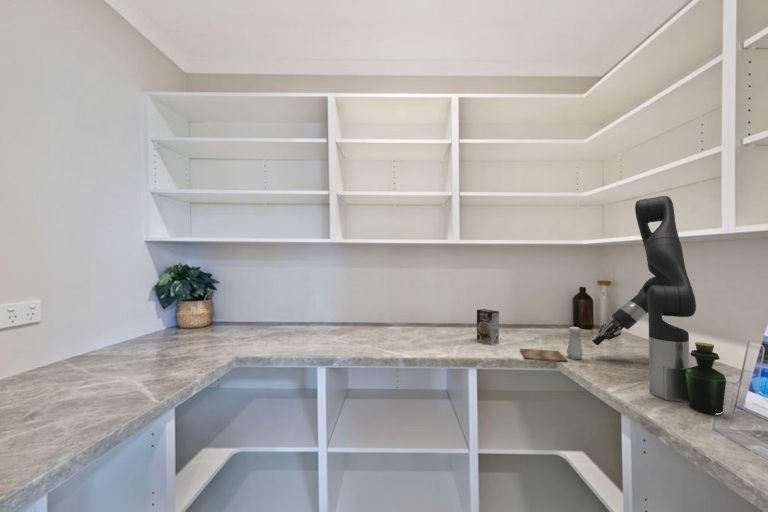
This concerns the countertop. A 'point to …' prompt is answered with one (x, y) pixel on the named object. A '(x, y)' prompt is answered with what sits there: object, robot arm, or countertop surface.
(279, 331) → the countertop surface
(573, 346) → the salt shaker
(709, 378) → the potion bottle
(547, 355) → the walnut board
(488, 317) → the coffee box
